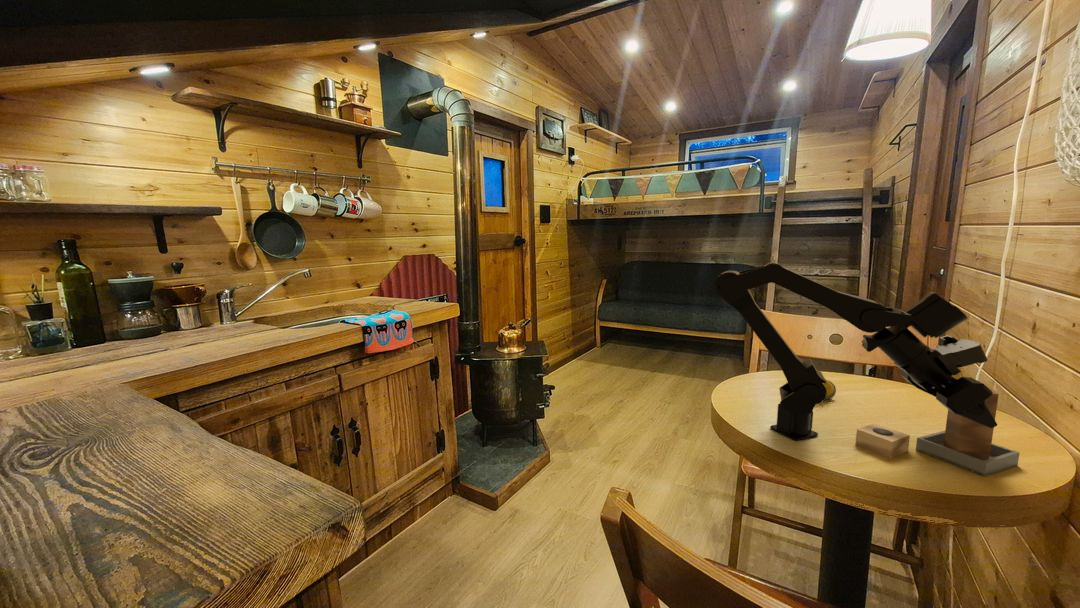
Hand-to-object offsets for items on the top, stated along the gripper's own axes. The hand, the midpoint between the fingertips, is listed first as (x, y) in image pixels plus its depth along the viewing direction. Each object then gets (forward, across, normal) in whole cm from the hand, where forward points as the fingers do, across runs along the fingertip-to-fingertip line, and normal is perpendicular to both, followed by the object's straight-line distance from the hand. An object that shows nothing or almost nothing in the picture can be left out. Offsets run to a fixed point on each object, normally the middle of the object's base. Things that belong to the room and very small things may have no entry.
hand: (977, 416), depth 76 cm
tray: (+5, 0, +7) cm, 8 cm away
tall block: (+5, 0, +6) cm, 8 cm away
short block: (-4, 0, +16) cm, 16 cm away
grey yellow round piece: (-6, +26, +18) cm, 32 cm away
